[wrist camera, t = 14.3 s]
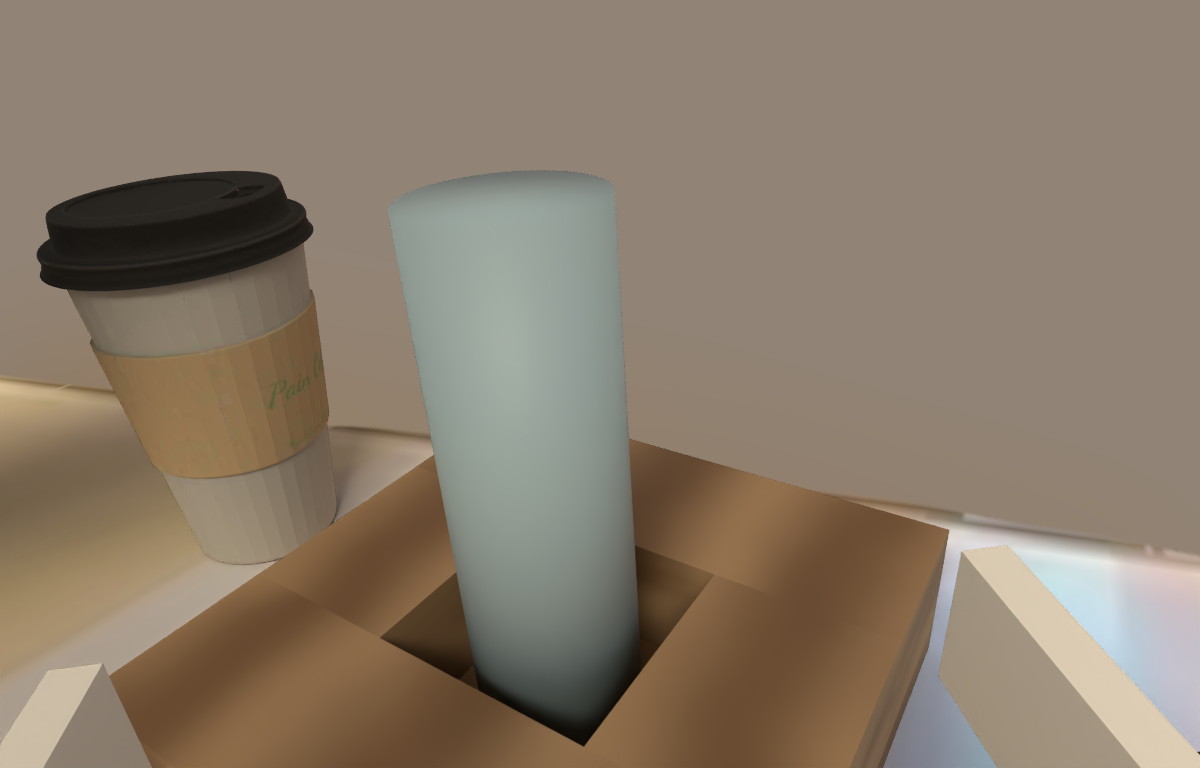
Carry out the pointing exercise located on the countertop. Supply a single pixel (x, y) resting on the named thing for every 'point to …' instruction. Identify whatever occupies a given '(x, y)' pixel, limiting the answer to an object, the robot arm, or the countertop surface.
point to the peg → (529, 430)
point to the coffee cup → (208, 347)
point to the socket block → (666, 624)
